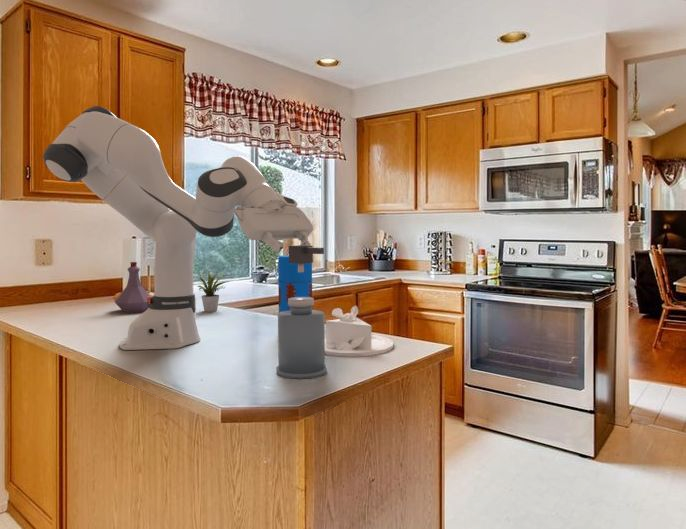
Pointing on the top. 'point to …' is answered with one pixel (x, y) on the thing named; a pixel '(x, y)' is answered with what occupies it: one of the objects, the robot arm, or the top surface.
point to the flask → (133, 293)
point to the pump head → (303, 255)
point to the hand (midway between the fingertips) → (294, 248)
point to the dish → (353, 336)
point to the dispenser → (301, 340)
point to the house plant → (210, 293)
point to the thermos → (292, 281)
